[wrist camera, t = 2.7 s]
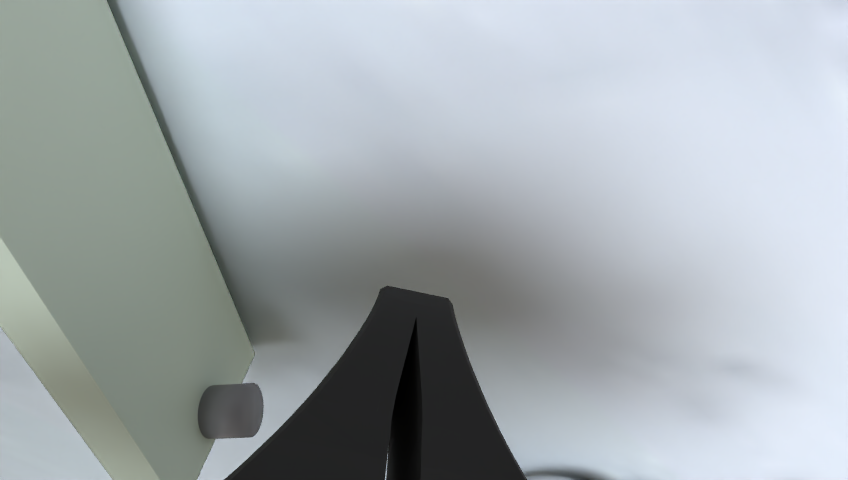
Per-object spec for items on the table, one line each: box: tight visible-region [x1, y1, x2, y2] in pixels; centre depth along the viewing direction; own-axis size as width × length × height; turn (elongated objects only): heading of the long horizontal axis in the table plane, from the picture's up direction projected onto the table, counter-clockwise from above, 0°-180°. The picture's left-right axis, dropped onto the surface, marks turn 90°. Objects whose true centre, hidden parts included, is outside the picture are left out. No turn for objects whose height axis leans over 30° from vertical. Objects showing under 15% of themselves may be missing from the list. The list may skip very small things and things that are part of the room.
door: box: [0, 0, 263, 480], centre depth 10 cm, size 10×2×5 cm, turn 8°
